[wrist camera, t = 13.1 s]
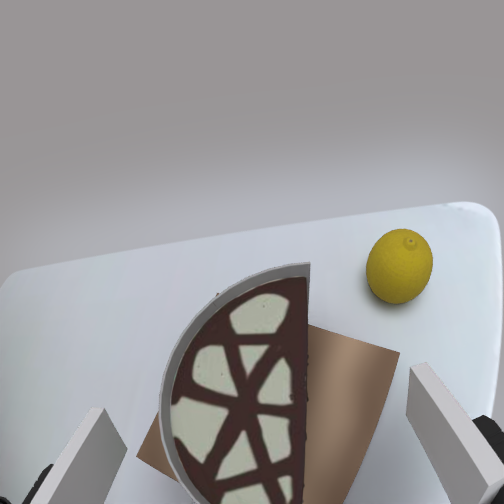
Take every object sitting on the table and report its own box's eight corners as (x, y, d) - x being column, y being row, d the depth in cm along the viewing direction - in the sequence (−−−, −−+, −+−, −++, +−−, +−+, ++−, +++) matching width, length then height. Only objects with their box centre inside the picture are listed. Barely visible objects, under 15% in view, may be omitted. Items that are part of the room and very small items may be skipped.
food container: (217, 325, 23) (168, 253, 14) (305, 326, 22) (309, 250, 13) (204, 495, 16) (136, 534, 8) (300, 501, 15) (302, 557, 7)
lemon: (392, 252, 30) (412, 200, 23) (426, 296, 27) (458, 251, 20) (348, 280, 29) (359, 230, 22) (382, 328, 26) (407, 290, 19)
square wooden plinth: (168, 453, 23) (136, 456, 18) (233, 319, 29) (217, 292, 24) (319, 517, 19) (322, 539, 14) (381, 369, 25) (400, 352, 20)
